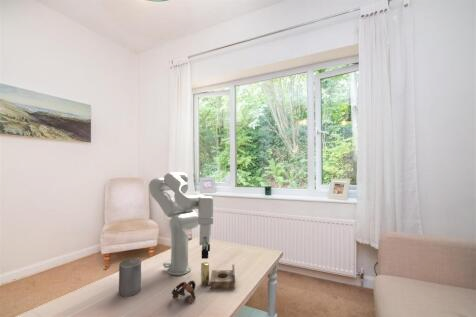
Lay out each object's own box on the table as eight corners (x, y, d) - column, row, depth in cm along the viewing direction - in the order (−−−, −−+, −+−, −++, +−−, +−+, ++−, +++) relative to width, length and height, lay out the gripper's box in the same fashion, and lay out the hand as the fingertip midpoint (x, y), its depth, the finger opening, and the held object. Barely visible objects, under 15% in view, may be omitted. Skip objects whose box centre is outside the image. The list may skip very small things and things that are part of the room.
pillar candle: (119, 288, 115) (119, 257, 115) (141, 284, 118) (141, 254, 118) (117, 299, 106) (118, 265, 106) (141, 294, 109) (141, 262, 110)
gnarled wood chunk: (189, 309, 99) (179, 292, 99) (174, 312, 104) (165, 296, 104) (204, 288, 110) (195, 273, 110) (190, 292, 114) (181, 277, 114)
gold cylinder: (200, 285, 117) (200, 265, 117) (201, 281, 121) (201, 262, 121) (208, 285, 117) (208, 265, 118) (209, 281, 121) (209, 262, 121)
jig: (210, 288, 114) (210, 275, 114) (211, 276, 126) (212, 264, 126) (234, 288, 115) (234, 275, 115) (234, 276, 127) (234, 264, 127)
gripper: (200, 217, 128) (200, 248, 128) (196, 225, 111) (196, 261, 110) (214, 216, 128) (214, 248, 128) (211, 224, 111) (212, 261, 111)
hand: (205, 254), depth 119 cm, fingers open, 9 cm apart
